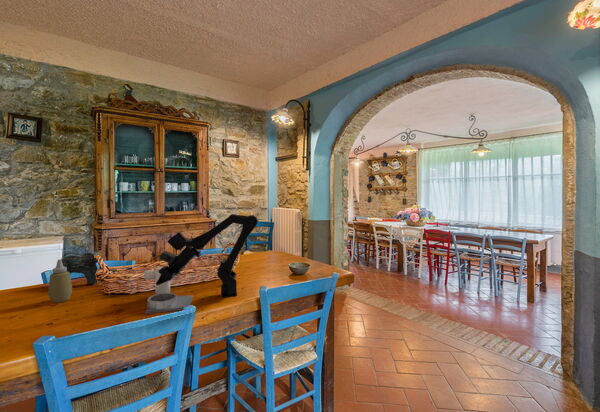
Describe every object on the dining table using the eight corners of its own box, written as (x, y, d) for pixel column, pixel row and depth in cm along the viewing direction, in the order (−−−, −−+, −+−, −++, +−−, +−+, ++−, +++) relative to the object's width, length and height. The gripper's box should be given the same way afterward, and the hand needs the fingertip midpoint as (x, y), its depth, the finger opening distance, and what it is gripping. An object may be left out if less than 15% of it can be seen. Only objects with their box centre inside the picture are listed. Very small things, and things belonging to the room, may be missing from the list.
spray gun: (102, 282, 148) (101, 244, 147) (94, 286, 142) (93, 247, 141) (63, 283, 147) (62, 245, 146) (53, 287, 141) (52, 247, 140)
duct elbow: (171, 293, 131) (170, 266, 130) (169, 298, 125) (168, 269, 124) (147, 296, 128) (146, 267, 127) (144, 300, 122) (143, 271, 122)
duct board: (192, 297, 126) (192, 288, 126) (189, 309, 113) (189, 299, 113) (152, 301, 122) (152, 291, 122) (144, 314, 108) (144, 303, 108)
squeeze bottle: (76, 298, 124) (75, 258, 124) (54, 305, 117) (53, 262, 116) (66, 296, 128) (65, 257, 127) (44, 302, 120) (42, 260, 120)
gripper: (178, 242, 136) (154, 265, 135) (163, 249, 117) (135, 276, 117) (195, 257, 137) (172, 280, 136) (182, 267, 118) (156, 294, 118)
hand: (159, 282), depth 127 cm, fingers open, 6 cm apart
